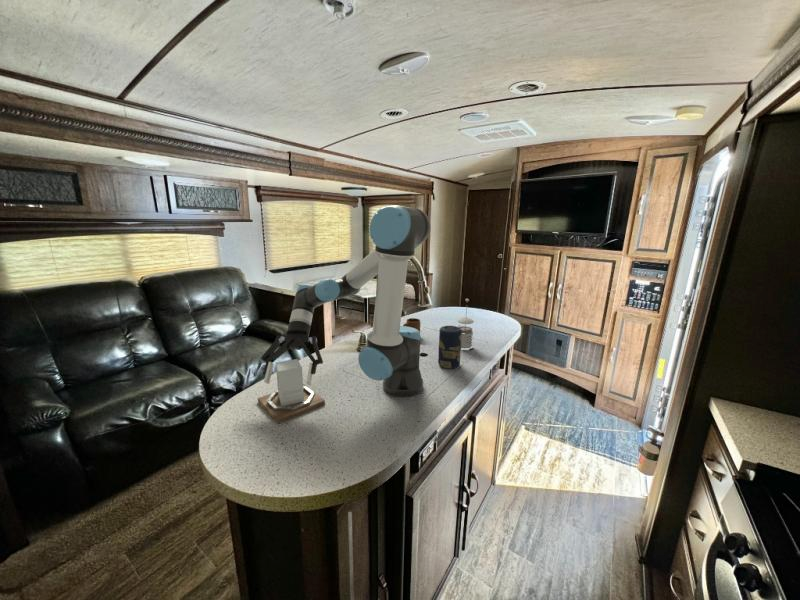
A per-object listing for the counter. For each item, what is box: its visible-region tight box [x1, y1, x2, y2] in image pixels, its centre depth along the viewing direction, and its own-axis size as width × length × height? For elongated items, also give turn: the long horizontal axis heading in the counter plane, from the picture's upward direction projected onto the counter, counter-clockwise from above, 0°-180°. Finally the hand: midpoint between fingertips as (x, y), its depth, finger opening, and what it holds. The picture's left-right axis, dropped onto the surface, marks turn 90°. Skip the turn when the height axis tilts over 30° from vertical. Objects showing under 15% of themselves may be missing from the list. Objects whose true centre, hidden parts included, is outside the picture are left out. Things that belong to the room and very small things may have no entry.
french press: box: [457, 298, 475, 348], centre depth 156 cm, size 10×12×25 cm
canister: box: [437, 325, 463, 369], centre depth 136 cm, size 10×10×18 cm
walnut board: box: [257, 383, 326, 424], centre depth 107 cm, size 16×16×2 cm
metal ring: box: [267, 385, 315, 412], centre depth 106 cm, size 14×14×1 cm
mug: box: [402, 317, 421, 333], centre depth 170 cm, size 12×8×9 cm, turn 138°
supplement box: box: [275, 358, 304, 407], centre depth 105 cm, size 7×7×13 cm
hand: (287, 383), depth 103 cm, fingers open, 13 cm apart
